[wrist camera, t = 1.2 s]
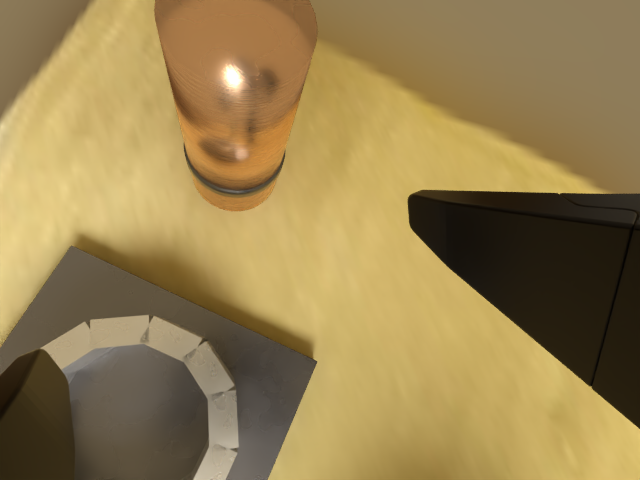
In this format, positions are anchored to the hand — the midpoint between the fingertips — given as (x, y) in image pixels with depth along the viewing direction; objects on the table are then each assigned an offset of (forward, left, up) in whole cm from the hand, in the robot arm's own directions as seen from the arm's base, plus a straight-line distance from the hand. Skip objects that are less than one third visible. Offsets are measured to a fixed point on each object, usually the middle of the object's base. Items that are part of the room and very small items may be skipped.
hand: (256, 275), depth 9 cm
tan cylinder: (+4, -7, -13) cm, 16 cm away
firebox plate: (+2, +7, -13) cm, 15 cm away
